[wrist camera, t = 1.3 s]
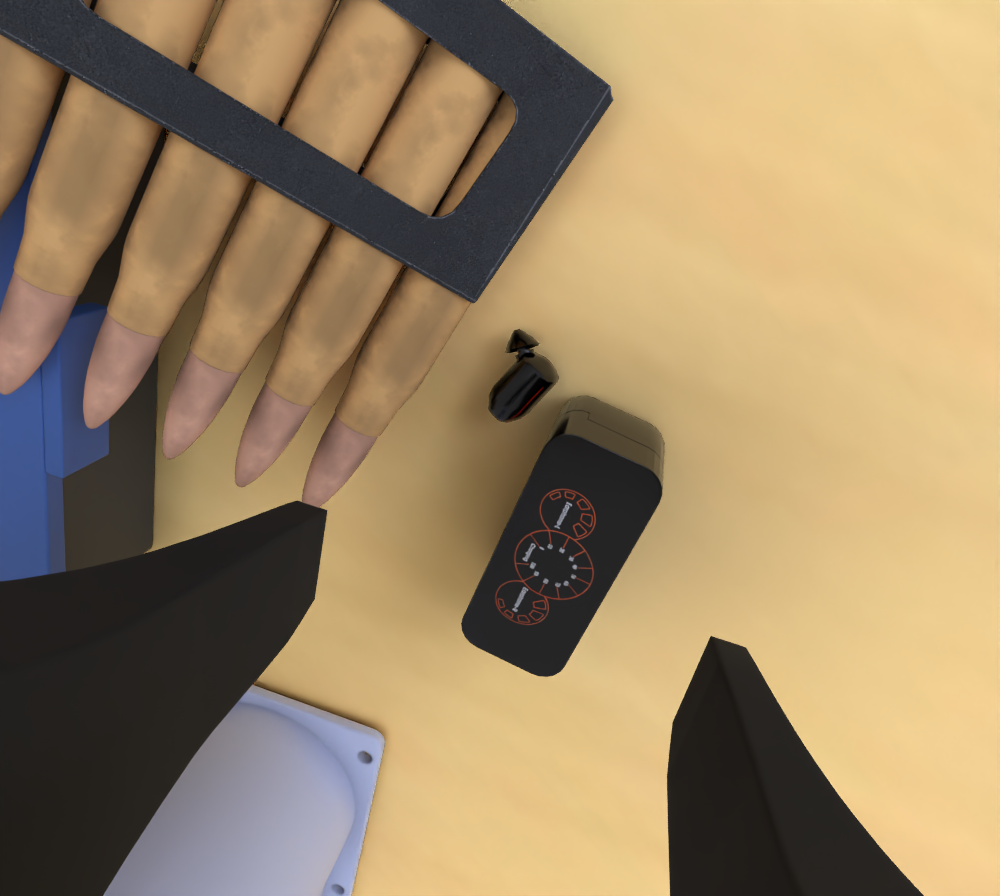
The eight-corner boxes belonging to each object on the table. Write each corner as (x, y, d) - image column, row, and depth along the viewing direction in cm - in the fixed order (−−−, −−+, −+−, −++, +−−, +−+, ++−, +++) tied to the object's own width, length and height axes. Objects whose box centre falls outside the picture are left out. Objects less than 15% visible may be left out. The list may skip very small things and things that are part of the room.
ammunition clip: (619, 92, 14) (339, 545, 18) (591, 89, 16) (339, 506, 20) (36, -363, 10) (-174, 351, 14) (78, -305, 12) (-120, 321, 15)
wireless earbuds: (689, 400, 18) (691, 448, 15) (571, 610, 21) (554, 685, 18) (519, 321, 18) (489, 354, 15) (427, 541, 21) (387, 603, 18)
